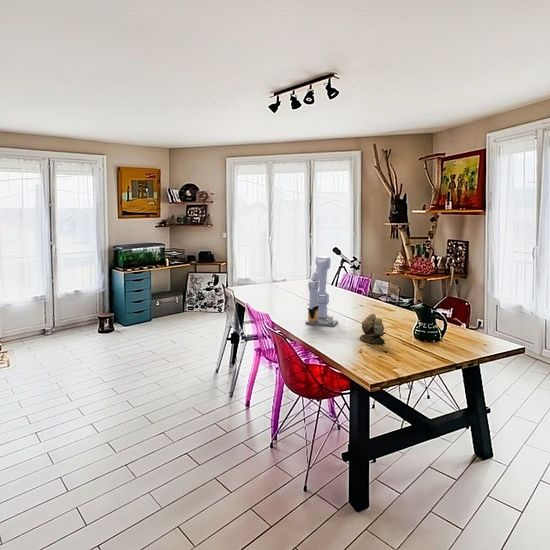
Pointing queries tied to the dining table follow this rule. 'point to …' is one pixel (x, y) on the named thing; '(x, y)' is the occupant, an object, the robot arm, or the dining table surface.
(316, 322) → the panel
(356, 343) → the dining table surface
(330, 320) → the untagged breaker
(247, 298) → the dining table surface
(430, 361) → the dining table surface
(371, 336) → the stacked stone sculpture
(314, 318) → the orange cube
